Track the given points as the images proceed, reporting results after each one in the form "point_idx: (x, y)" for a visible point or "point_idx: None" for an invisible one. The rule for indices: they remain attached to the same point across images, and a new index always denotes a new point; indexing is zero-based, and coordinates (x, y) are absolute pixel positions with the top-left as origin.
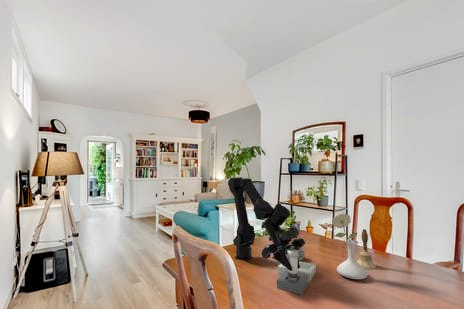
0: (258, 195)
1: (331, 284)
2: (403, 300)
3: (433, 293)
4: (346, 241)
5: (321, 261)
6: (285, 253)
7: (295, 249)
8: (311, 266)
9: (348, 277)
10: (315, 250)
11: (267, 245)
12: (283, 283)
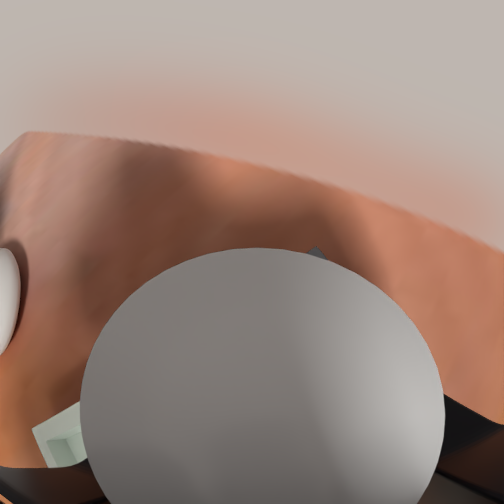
0: None
1: (89, 293)
2: (54, 147)
3: (5, 165)
4: None
5: (2, 459)
6: (442, 471)
7: (91, 451)
8: (56, 434)
9: (19, 281)
10: None
11: None
12: None
